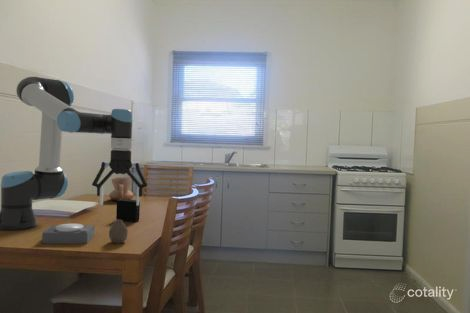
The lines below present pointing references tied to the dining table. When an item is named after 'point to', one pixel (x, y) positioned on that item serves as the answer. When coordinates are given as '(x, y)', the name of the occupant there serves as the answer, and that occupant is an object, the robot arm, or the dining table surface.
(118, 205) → the electronic device
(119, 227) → the vase
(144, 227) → the dining table surface
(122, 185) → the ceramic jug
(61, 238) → the grey dome button box
